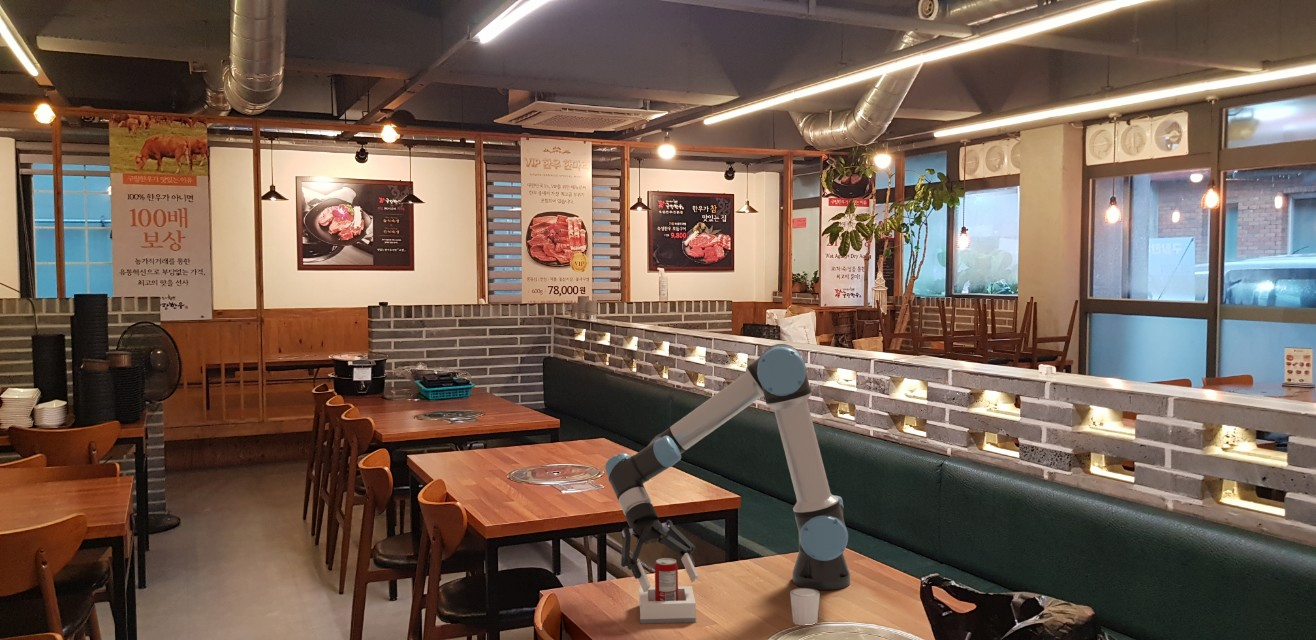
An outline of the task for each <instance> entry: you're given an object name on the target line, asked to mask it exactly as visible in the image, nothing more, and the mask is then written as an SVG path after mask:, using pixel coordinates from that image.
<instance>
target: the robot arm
mask: <svg viewBox="0 0 1316 640" xmlns="http://www.w3.org/2000/svg"><path fill="white" fill-rule="evenodd" d="M807 374H808V373H807V366H806V363H805V361H804V359H803V357H802V355H801V353H800V351H799V350H797V349H796V347H793V346H792V345H790V344H787V343H776V344H773V345H771V346H769V347H767V348H766V349H765V350H764V351H763V352H762V354H761V355H760V356H759V357H757V359H756V360H755V361H753V362H751V363H750V364H749V365H747V366H746V368H745V371H744V373H743V374H742V375H741V376H739V377H737V379H735V380H733V381H732V382H730V383H729V384H728V385H727V386H726V387H724V388H722V389H721V390H719V391H718V392H717V393H715V394H714V395H712V397H710V398H709V399H708V400H706V401H705V402H703V403H702V404H700V405H699V406H697V407H695V408H694V410H692V411H690V412H689V413H688V414H686V415H685V416H683V417H682V418H681V419H679V420H678V421H676V422H675V423H673V424H672V425H670V427H669V428H667V429H666V430H664V431H663V432H661V433H659V434H657V435H655V436H654V437H653V438H652V439H651V441H649V444H648V445H647V446H646V447H644V448H643V449H641V450H640V451H639V452H637V453H635V454H633V455H632V456H631V455H630V454H628V453H626V452H621V453H618V454H616V455H613V456H611V457H610V458H609V459H608V460H606V462H605V465H604V468H605V469H604V470H605V472H606V476H607V479H608V481H609V483H610V485H611V488H612V489H613V492H614V495H615V496H616V498H617V501H618V504H619V505H620V507H621V510H622V512H623V514H624V517H625V520H626V522H627V524H628V526H625V527H624V528H623V529H622V531H621V532H620V536H621V539H622V545H621V560H620V565H621V567H623V568H625V567H627V569H628V570H629V571H631V572H632V575H633V578H635V579H636V580H638V582H639V584H640V587H642V589H643V592H647V590H648V589H649V587H652V586H651V583H650V581H649V579H648V577H647V574H646V571H645V569H644V567H643V565H642V563H641V561H638V559H639V556H640V553H641V550H642V547H643V544H645V545H649V544H656V543H657V542H658V543H659V544H661V545H662V544H663V545H664V546H666V547H667V548H668V549H670V550H672V551H673V552H675V553H677V554H678V555H680V557H681V558H680V559H681V560H680V561H681V562H682V564H683V567H684V568H685V571H686V573H687V575H688V577H689V580H690V582H691V583H695V581H696V580H697V579H698V577H699V574H698V572H697V569H696V567H695V565H696V562H695V560H694V558H693V555H692V554H693V552H694V551H695V549H696V546H695V545H694V544H693V543H692V542H691V541H690V540H689V539H688V538H687V537H686V536H685V535H684V534H683V533H682V532H681V531H680V530H679V529H677V528H676V526H675V525H674V524H673V521H672V520H670V519H667V520H666V522H662V523H661V521H659V517H658V514H657V511H656V510H655V507H654V505H653V503H652V500H651V497H650V496H649V493H648V492H647V490H646V487H645V483H647V482H648V481H650V480H651V479H653V478H655V477H656V476H658V475H660V474H661V473H663V472H664V471H666V470H668V469H669V468H672V467H674V465H675V464H676V463H678V462H680V460H681V459H682V454H683V453H684V452H686V451H687V450H688V449H690V448H692V447H693V446H694V445H695V444H697V443H698V442H699V441H701V440H703V439H704V438H705V437H706V436H708V435H709V434H711V433H712V432H714V431H715V430H716V429H718V428H720V427H721V426H722V425H724V424H725V423H726V422H728V421H729V420H730V419H732V418H734V417H735V416H736V415H738V414H739V413H740V412H742V411H743V410H745V409H747V408H748V407H749V406H750V405H752V404H754V402H756V401H757V400H759V399H760V398H762V397H764V400H765V404H766V405H767V406H768V407H770V408H771V409H772V410H773V411H774V415H775V418H776V420H775V421H776V423H777V426H778V432H779V435H780V439H781V443H782V447H783V450H784V454H785V458H786V463H787V468H788V470H789V473H790V478H791V482H792V486H793V490H794V493H795V499H796V503H795V504H794V506H793V508H792V510H793V514H794V519H795V522H796V526H797V531H798V554H797V557H796V560H795V563H794V566H793V569H792V583H794V584H795V585H796V586H799V587H800V588H809V589H814V590H817V591H820V590H821V591H822V590H823V591H826V590H828V591H831V590H838V589H842V588H846V587H848V586H849V585H850V584H851V572H850V569H849V566H848V564H847V561H846V557H845V555H844V551H845V550H846V548H847V545H848V541H849V531H848V529H847V526H846V523H845V520H844V501H843V498H842V497H841V496H839V495H833V494H832V493H831V488H830V486H829V480H828V478H827V474H826V470H825V466H824V462H823V458H822V454H821V450H820V446H819V442H818V438H817V433H816V430H815V427H814V423H813V419H812V414H811V411H810V407H809V404H808V403H809V402H808V400H809V399H810V397H811V395H812V390H811V386H810V382H809V378H808V375H807ZM661 536H662V537H661ZM632 537H635V538H636V539H637V540H636V543H635V544H634V545H635V546H634V549H633V551H632V555H631V557H630V552H631V542H632V541H631V538H632Z"/></svg>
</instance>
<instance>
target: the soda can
mask: <svg viewBox="0 0 1316 640" xmlns="http://www.w3.org/2000/svg"><path fill="white" fill-rule="evenodd" d="M678 572H679V567H678V564H677V560H676V559H674V558H670V557H669V558H668V557H663V558H658V559H656V560H655V566H654V587H655V601H678V586H679V575H678V574H679V573H678Z"/></svg>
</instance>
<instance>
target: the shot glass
mask: <svg viewBox="0 0 1316 640" xmlns="http://www.w3.org/2000/svg"><path fill="white" fill-rule="evenodd" d="M789 593H790V594H789V596H790V604H791V615H792V622H793V624H795V625H797V624H798V625H797V626H801V625H805V624H813V623H818V619H819V607H820V596H821V595H820V594H821V593H820V590H817V589H809V588H805V587H798V588H794V589H792V590H790V591H789Z"/></svg>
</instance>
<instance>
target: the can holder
mask: <svg viewBox="0 0 1316 640" xmlns="http://www.w3.org/2000/svg"><path fill="white" fill-rule="evenodd" d="M693 590H694V589H693V586H692V585H678V601H655V586H650V587H649V589H648V590H647V592H643V589H642V587H641V586H640V587H639V589H638V591H639V598H638V599H639V603H638V604H639V619H640V620H639V621H640V624H670V623H671V624H673V623H697V621H696V620H697V610H696V609H697V608H696V606H697V605H696V604H697V603H696V599H695V595H694V591H693Z"/></svg>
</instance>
